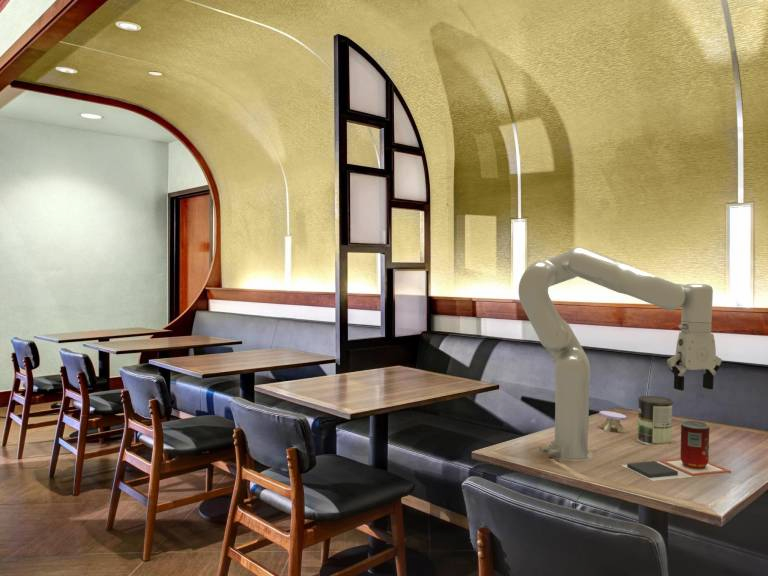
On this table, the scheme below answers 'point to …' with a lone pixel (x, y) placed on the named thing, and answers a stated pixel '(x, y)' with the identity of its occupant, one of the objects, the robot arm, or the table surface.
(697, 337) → the robot arm
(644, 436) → the coffee can
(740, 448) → the table surface
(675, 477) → the board
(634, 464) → the ink pad
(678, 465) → the red bordered square panel
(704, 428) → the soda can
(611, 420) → the toy table
